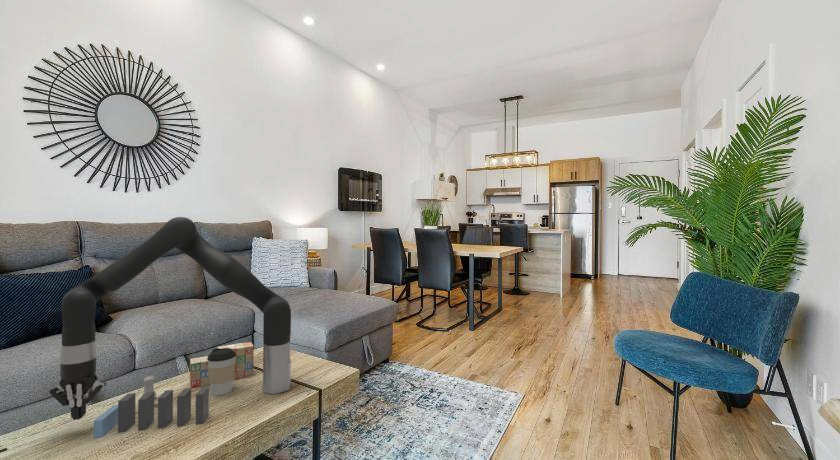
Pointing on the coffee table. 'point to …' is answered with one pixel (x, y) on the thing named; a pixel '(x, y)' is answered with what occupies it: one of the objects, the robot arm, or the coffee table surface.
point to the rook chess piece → (149, 385)
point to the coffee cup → (221, 370)
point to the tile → (106, 422)
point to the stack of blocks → (241, 370)
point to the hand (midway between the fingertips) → (78, 418)
